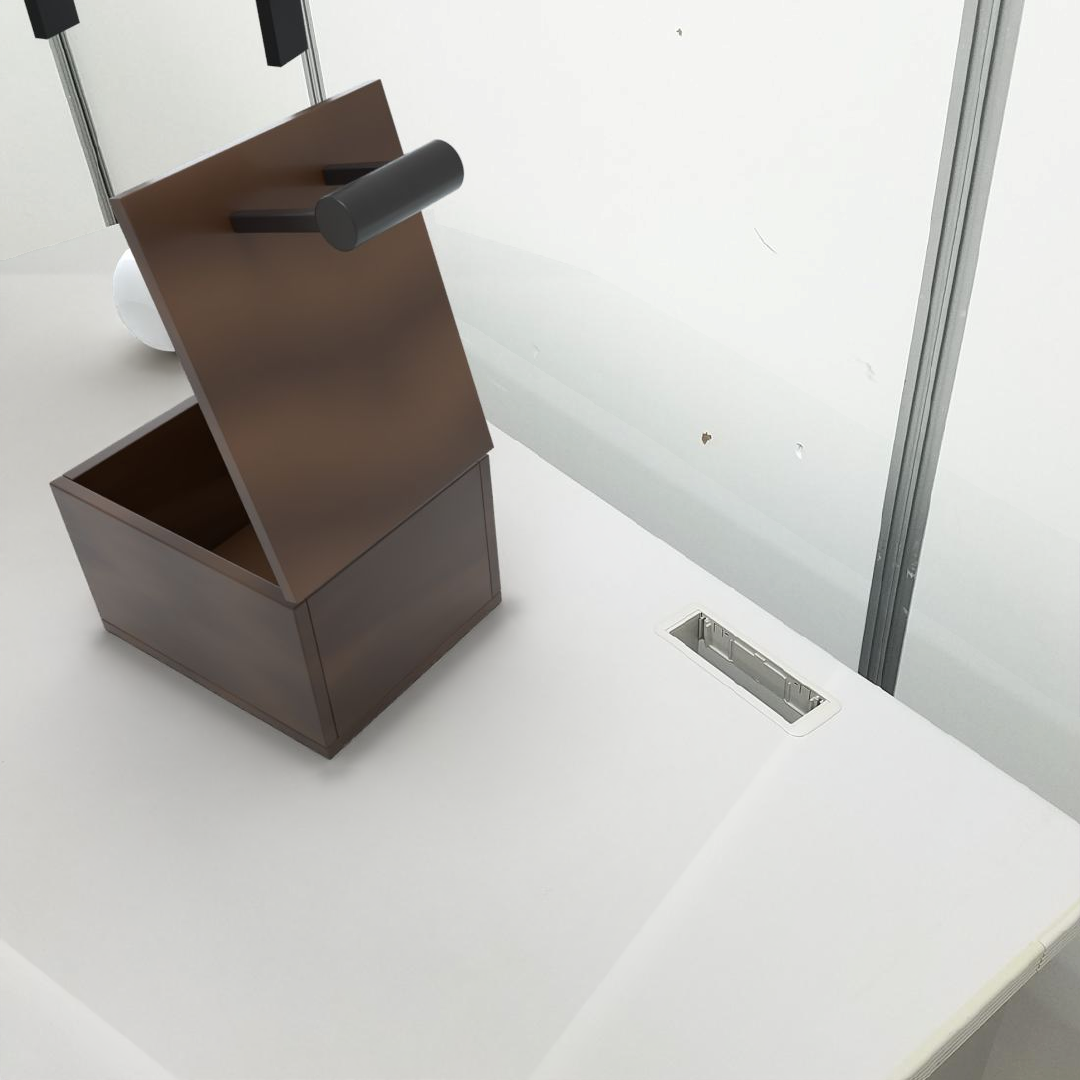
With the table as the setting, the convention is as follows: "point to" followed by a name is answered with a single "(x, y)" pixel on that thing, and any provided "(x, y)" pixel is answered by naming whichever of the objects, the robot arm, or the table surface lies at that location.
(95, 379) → the table surface
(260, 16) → the robot arm
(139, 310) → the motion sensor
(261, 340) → the compartment door
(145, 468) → the compartment
